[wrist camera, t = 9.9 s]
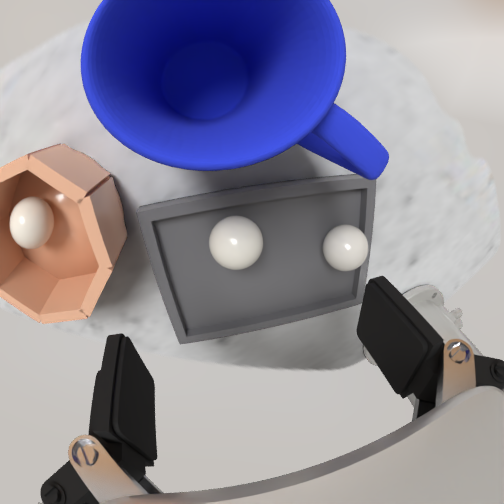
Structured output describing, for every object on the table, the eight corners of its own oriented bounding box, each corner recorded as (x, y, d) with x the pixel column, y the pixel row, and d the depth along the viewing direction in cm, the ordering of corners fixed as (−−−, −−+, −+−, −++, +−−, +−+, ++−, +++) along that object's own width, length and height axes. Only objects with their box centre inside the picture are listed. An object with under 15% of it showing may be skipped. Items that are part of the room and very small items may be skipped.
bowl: (106, 128, 14) (76, 134, 10) (141, 269, 20) (131, 312, 15) (-5, 174, 13) (-43, 194, 9) (37, 289, 18) (14, 326, 14)
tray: (367, 173, 20) (376, 177, 19) (356, 296, 25) (362, 303, 24) (139, 206, 17) (136, 212, 16) (179, 334, 23) (179, 344, 22)
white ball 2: (254, 204, 19) (267, 223, 16) (258, 249, 20) (271, 274, 17) (203, 213, 18) (206, 234, 15) (211, 257, 20) (216, 285, 17)
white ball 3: (355, 214, 21) (379, 232, 18) (352, 253, 22) (373, 274, 19) (315, 220, 20) (336, 241, 17) (315, 260, 22) (333, 285, 19)
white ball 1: (54, 184, 15) (29, 200, 12) (67, 230, 16) (47, 253, 13) (20, 197, 14) (-6, 214, 11) (34, 239, 16) (12, 262, 13)
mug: (273, 191, 19) (342, 263, 10) (116, 110, 14) (36, 110, 5) (335, 98, 16) (443, 102, 8) (185, 7, 12) (184, -81, 3)
